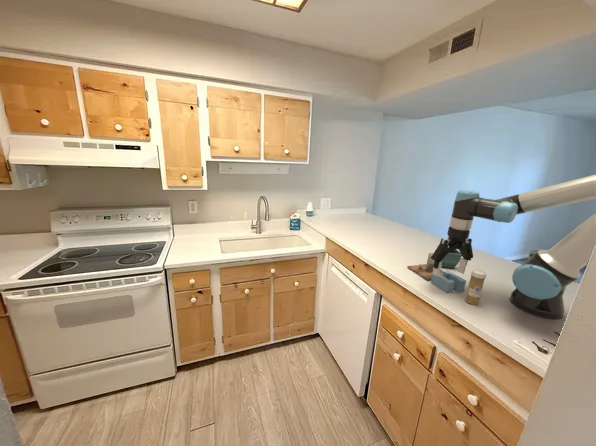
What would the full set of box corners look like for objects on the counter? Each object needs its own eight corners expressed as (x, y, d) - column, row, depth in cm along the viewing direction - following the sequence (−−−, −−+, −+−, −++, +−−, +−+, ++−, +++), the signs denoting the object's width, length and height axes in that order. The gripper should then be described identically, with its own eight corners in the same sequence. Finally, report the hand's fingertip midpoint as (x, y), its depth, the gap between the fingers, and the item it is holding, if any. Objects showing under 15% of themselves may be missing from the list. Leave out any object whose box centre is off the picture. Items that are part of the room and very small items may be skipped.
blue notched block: (463, 290, 104) (466, 280, 103) (446, 293, 102) (449, 282, 101) (446, 280, 113) (448, 270, 112) (430, 282, 111) (432, 272, 109)
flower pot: (459, 270, 124) (462, 254, 121) (440, 268, 125) (443, 252, 123) (452, 263, 132) (455, 248, 130) (434, 261, 134) (437, 246, 131)
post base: (451, 278, 115) (456, 258, 113) (427, 281, 112) (431, 261, 109) (429, 265, 128) (433, 248, 126) (407, 267, 125) (410, 249, 122)
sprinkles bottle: (469, 305, 94) (477, 274, 91) (462, 298, 99) (469, 268, 95) (481, 305, 94) (489, 274, 91) (473, 298, 99) (480, 268, 95)
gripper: (474, 224, 107) (463, 267, 113) (427, 226, 101) (418, 271, 107) (491, 229, 100) (478, 275, 106) (442, 231, 94) (431, 280, 100)
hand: (448, 273), depth 106 cm, fingers open, 13 cm apart
